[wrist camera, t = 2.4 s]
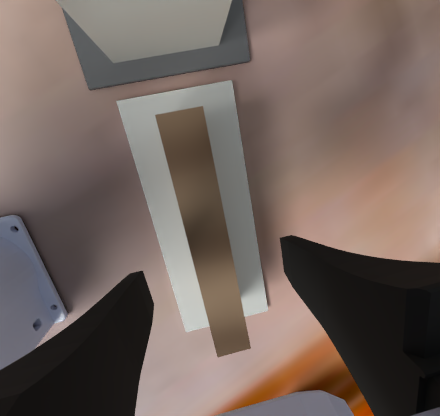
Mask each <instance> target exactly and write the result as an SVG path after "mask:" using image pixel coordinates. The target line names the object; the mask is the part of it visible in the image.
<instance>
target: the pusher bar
mask: <svg viewBox="0 0 440 416" xmlns="http://www.w3.org/2000/svg"><path fill="white" fill-rule="evenodd" d="M155 117H156V121H157V125H158V129H159V133H160V136H161V140H162V144H163V148H164V152H165V156H166V160H167V163H168V167H169V171H170V175H171V179H172V183H173V187H174V190H175V194H176V198H177V202H178V206H179V210H180V214H181V218H182V221H183V225H184V229H185V233H186V237H187V241H188V245H189V248H190V252H191V256H192V260H193V264H194V268H195V272H196V275H197V279H198V283H199V287H200V291H201V295H202V299H203V302H204V306H205V310H206V314H207V318H208V322H209V326H210V329H211V333H212V337H213V341H214V345H215V349H216V353H217V357H221V356H224V355H228V354H232V353H235V352H239V351H243V350H246V349H250V348H251V347H250V342H249V337H248V332H247V327H246V322H245V317H244V312H243V307H242V301H241V296H240V291H239V286H238V281H237V276H236V271H235V266H234V261H233V256H232V251H231V246H230V241H229V236H228V231H227V225H226V220H225V215H224V210H223V205H222V200H221V195H220V190H219V185H218V180H217V175H216V170H215V165H214V160H213V155H212V149H211V144H210V139H209V134H208V129H207V124H206V119H205V114H204V109H203V106H200V107H194V108H189V109H184V110H178V111H173V112H168V113H163V114H157V115H155Z"/></svg>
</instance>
